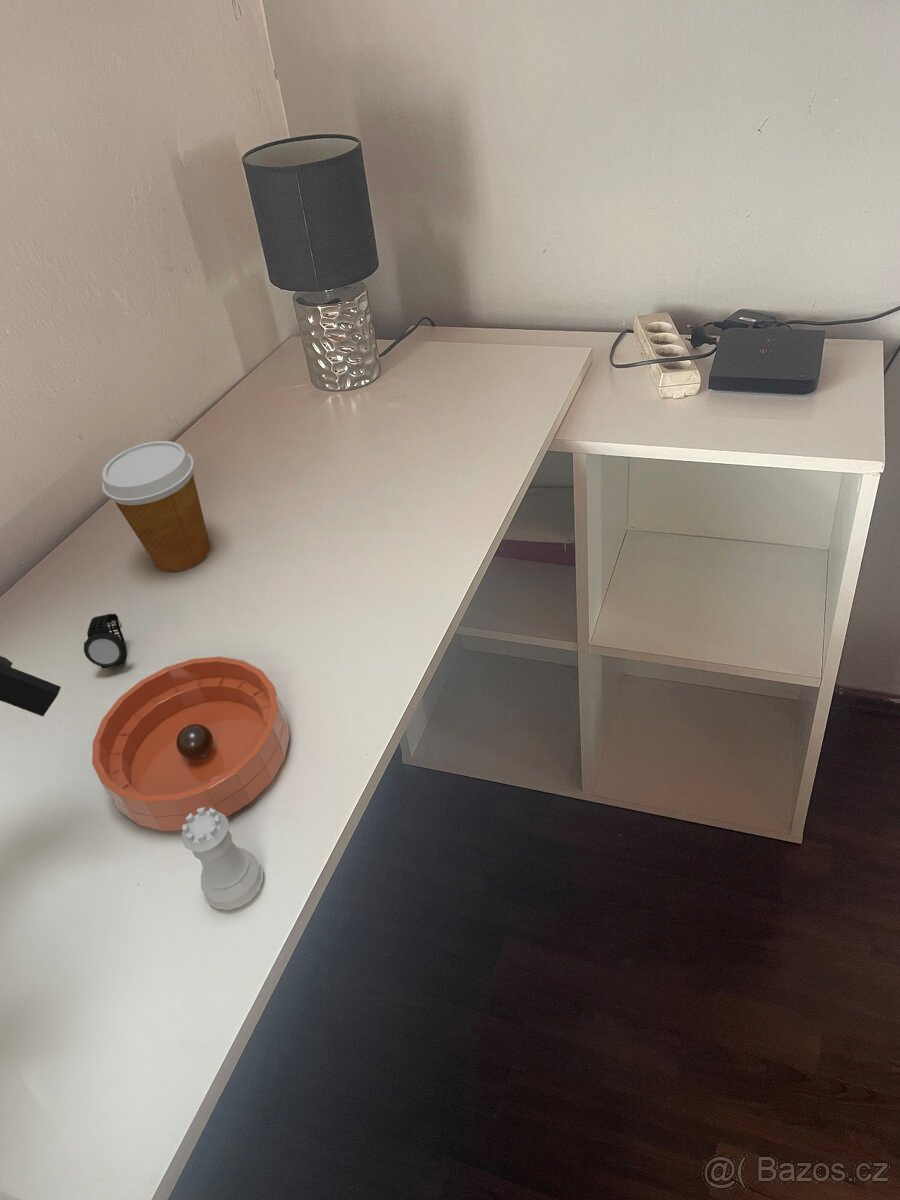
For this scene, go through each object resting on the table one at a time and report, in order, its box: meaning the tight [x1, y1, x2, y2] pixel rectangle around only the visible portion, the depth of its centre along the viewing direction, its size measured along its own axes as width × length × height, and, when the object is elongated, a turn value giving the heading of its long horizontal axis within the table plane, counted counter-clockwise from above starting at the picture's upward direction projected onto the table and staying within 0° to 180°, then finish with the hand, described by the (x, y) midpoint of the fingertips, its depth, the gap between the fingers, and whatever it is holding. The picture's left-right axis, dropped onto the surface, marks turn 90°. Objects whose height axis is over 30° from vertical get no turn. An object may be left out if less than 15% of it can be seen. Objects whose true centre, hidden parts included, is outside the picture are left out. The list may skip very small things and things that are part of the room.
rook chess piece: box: [181, 807, 264, 911], centre depth 61 cm, size 4×4×8 cm
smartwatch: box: [83, 613, 127, 669], centre depth 83 cm, size 4×5×5 cm
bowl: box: [91, 656, 290, 832], centre depth 72 cm, size 15×15×4 cm
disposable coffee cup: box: [101, 440, 211, 573], centre depth 93 cm, size 10×10×12 cm
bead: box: [176, 724, 214, 760], centre depth 72 cm, size 3×3×3 cm
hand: (21, 781), depth 55 cm, fingers open, 13 cm apart
